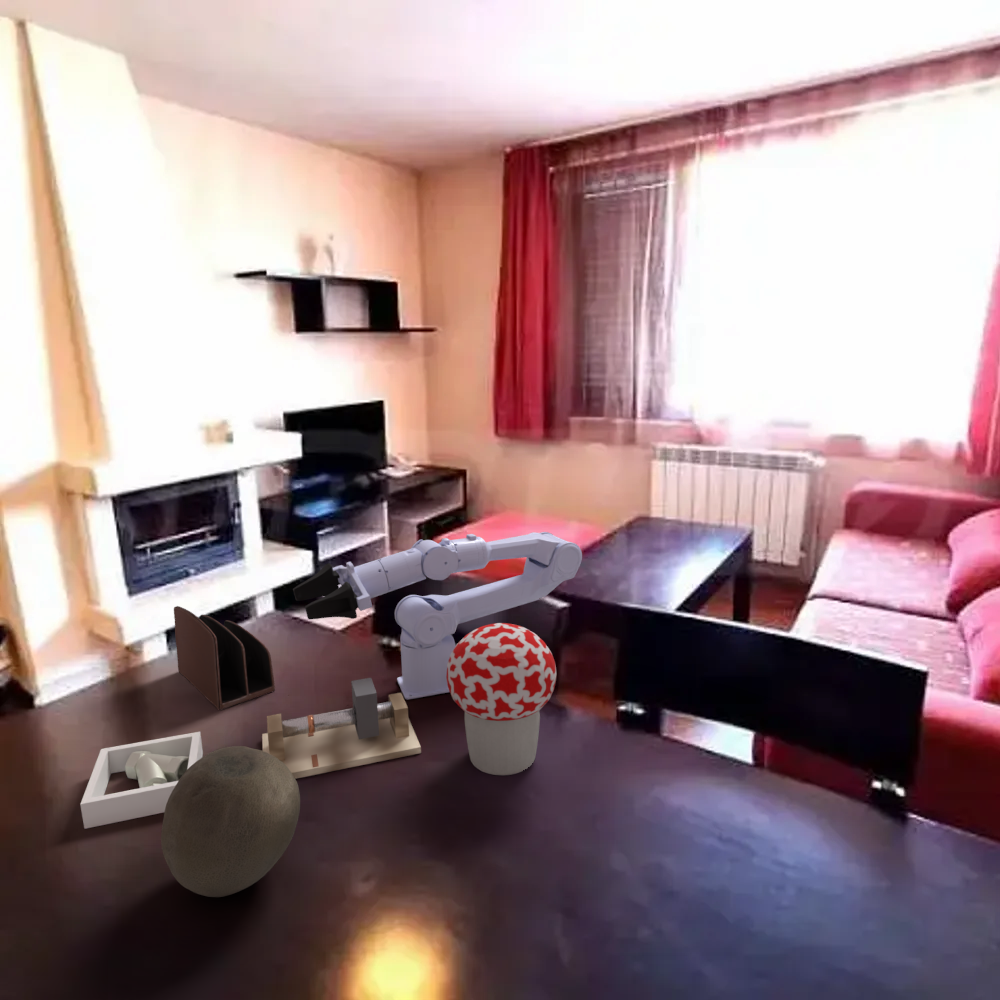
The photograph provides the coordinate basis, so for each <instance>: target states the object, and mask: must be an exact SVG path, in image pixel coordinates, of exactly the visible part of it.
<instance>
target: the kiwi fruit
mask: <svg viewBox="0 0 1000 1000" xmlns="http://www.w3.org/2000/svg"><path fill="white" fill-rule="evenodd" d="M300 810H301V795H300V789H299V785H298V781H297V780H296V779H295V778H294V776H293V775H292V773H291V772H290V770H289V769H288V767H287V766H286V765H285V764H284V763H283V762H281V761H280V760H279V759H277V758H276V757H274V756H272V755H271V754H269V753H267V752H264V751H263V750H261V749H259V748H258V749H257V748H252V747H248V746H244V745H233V746H225V747H222V748H219V749H215V750H214V751H211V752H209V753H207V754H205V755H204V756H202V758H201V759H199V760H198V761H196V762H195V763H194V764H193V765H192V766H190V767H189V768H188V769H187V770H186V772H185V773H184V774H183V775H182V777H181V778H180V779H179V781H178V783H177V784H176V786H175V787H174V789H173V791H172V792H171V795H170V797H169V799H168V801H167V804H166V807H165V812H163V820H162V824H161V825H162V826H161V833H160V834H161V835H160V845H161V851H162V855H163V857H164V860H165V862H166V864H167V866H168V868H169V871H170V873H171V874H172V877H174V879H175V880H176V881H177V882H178V883H179V884H180V885H181V886H182V887H184V888H185V889H187V890H189V891H191V892H192V893H194V894H197V895H199V896H200V895H201V896H205V897H208V898H209V897H210V898H221V897H228V896H231V895H233V894H236V893H239V892H241V891H243V890H246V889H247V888H249V887H251V886H253V885H254V884H255V883H257V882H259V880H261V879H262V878H264V876H266V875H267V874H268V873H269V872H270V871H271V870H272V868H274V866H275V865H277V862H278V861H279V860H280V859H281V857H283V855H284V853H285V852H286V850H287V849H288V847H289V845H290V843H291V842H292V839H293V838H294V835H295V832H296V828H297V824H298V821H299V817H300Z"/></svg>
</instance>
